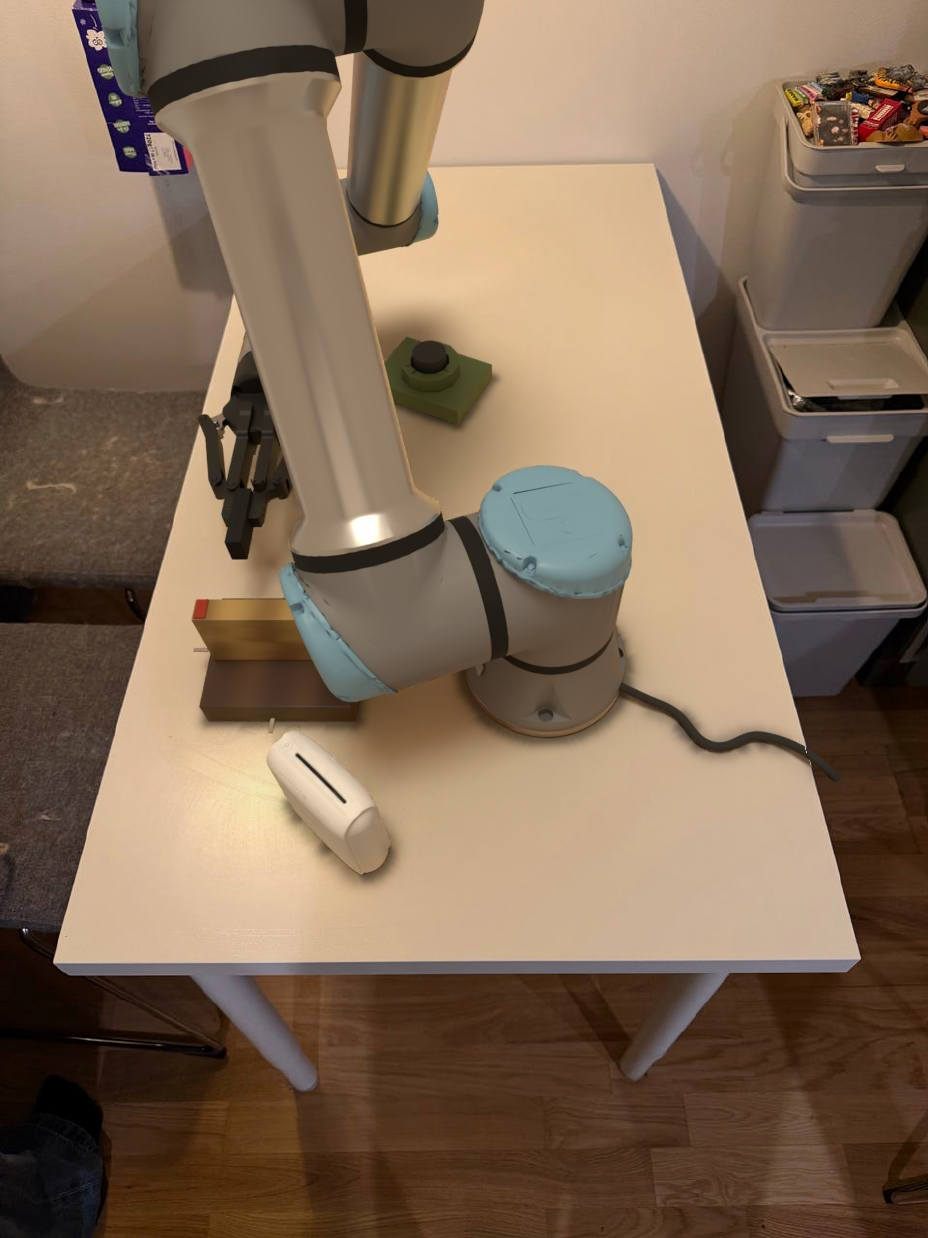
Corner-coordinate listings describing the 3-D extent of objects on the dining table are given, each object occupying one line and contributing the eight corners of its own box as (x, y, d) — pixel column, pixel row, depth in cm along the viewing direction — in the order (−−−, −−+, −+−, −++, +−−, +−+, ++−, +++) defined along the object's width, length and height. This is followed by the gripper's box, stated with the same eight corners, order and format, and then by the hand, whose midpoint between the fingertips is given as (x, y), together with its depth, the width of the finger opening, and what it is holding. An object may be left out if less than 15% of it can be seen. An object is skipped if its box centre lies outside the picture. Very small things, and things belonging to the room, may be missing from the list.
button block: (492, 378, 103) (492, 352, 100) (458, 425, 99) (456, 399, 96) (407, 350, 107) (404, 323, 103) (371, 394, 102) (367, 368, 99)
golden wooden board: (352, 640, 80) (341, 597, 74) (350, 660, 79) (338, 618, 73) (217, 640, 80) (195, 597, 74) (213, 660, 79) (190, 618, 73)
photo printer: (284, 804, 74) (250, 747, 64) (321, 771, 76) (293, 710, 66) (362, 885, 70) (339, 838, 60) (399, 848, 72) (383, 796, 62)
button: (452, 357, 100) (452, 345, 99) (436, 378, 98) (435, 366, 97) (423, 348, 101) (422, 336, 100) (407, 368, 99) (405, 356, 98)
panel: (383, 593, 86) (380, 575, 84) (370, 747, 77) (366, 732, 74) (218, 593, 87) (209, 575, 84) (186, 746, 78) (175, 732, 75)
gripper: (337, 401, 94) (312, 574, 81) (221, 402, 94) (179, 574, 81) (325, 347, 87) (297, 525, 75) (202, 348, 88) (153, 526, 75)
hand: (236, 550), depth 78 cm, fingers closed
